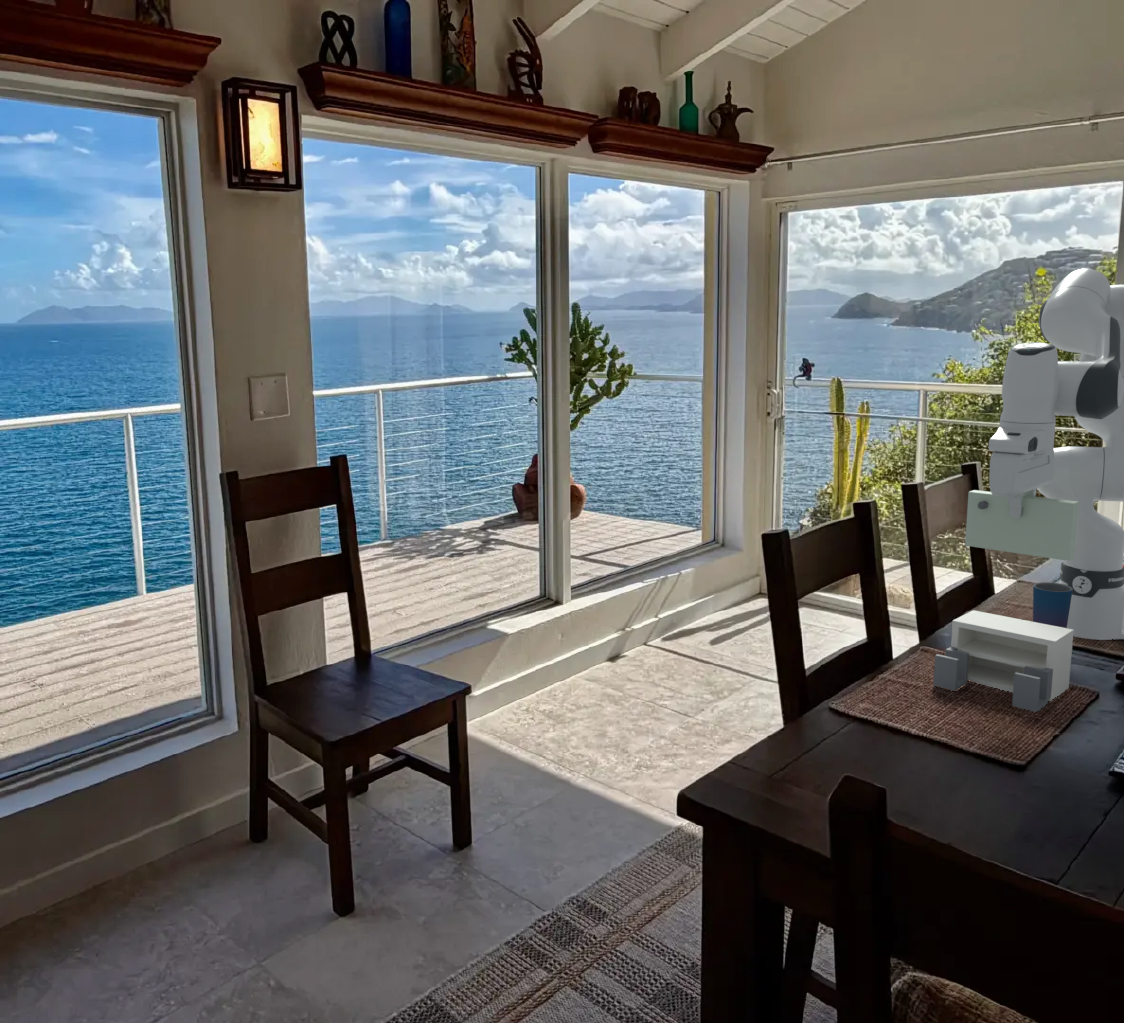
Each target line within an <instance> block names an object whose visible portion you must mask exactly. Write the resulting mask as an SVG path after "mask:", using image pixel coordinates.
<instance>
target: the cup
mask: <svg viewBox="0 0 1124 1023" xmlns="http://www.w3.org/2000/svg"><path fill="white" fill-rule="evenodd" d="M1032 589H1033V591H1032V622H1037V623H1042V624H1047V625H1052V626H1057V627H1063V628H1067V623H1068V616H1069V610H1070V604H1071V597H1072V591H1073V588H1072V587H1070V586H1068V585H1064V584H1059V582H1048V581H1047V582H1044V581H1043V582H1036V583H1034V584H1033V586H1032Z"/></svg>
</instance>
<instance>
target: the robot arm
mask: <svg viewBox="0 0 1124 1023" xmlns="http://www.w3.org/2000/svg"><path fill="white" fill-rule="evenodd" d="M1038 325H1039V326H1038V327H1039V329H1040V333H1041V336H1042V337H1043V339H1044V340H1045V341H1047V342H1048V343H1047V342H1037V341H1036V342H1034V341H1032V342H1024V343H1019V344H1015V345H1014V346H1012V347H1010V349H1009V350H1008V354H1007V357H1006V361H1005V366H1004V372H1003V376H1002V378H1003V379H1002V387H1001V389H1002V390H1001V399H1002V403H1003V404H1002V405H1003V407H1002V412H1001V415H1000V418H999V427H998V428H997V430H996V432H995V433H994V434H993V435H992V437H990V439H989V441H988V451H989V452H992V453H991V454H990V455H991V456H990V458H989V459H990V460H989V489H990V492H991V493H992V495H993V496H1000V497H1008V502H1009V506H1010V516H1011V517H1014V518H1019V517H1021V516H1023V509H1024V507H1022V498H1023V495H1024V496H1033V497H1036V495H1037V491H1038V492H1039V493H1040V494H1041V495H1043V496H1044V498H1051V499H1060V500H1069V501H1078V502H1079V505H1078V517H1077V529H1076V541H1075V553H1074V559H1072V560H1070V561H1065V560H1062V562H1061V563H1060V567H1059V579H1060V580H1059V582H1058V583H1059V584H1064V585H1068V586H1070V587H1072V588H1073V591H1072V597H1071V604H1070V610H1069V616H1068V623H1067V628H1068V629H1073V630H1074V632H1073V638H1079V639H1087V640H1088V639H1089V640H1095V641H1096V640H1097V641H1098V640H1099V641H1108V640H1109V641H1110V640H1112V639H1113V640H1124V529H1123V527H1122V526H1121V525H1120V524H1119V523H1118V522H1116V521H1115V520H1113V519H1111V518H1109V517H1107V516H1106V515H1103V514H1101V513H1100V512H1098V511H1097V510H1096V509H1095V507H1094V506H1095V505H1094V503H1095V502H1099V501H1105V502H1121V503H1123V502H1124V284H1110V281H1109V280H1108V278H1107V276H1105V275H1104V274H1103V273H1102V272H1101V271H1098V270H1096V269H1092V268H1081V269H1077V270H1073V271H1071V272H1070V273H1068V274H1067V275H1066V276H1065V277H1063V278H1062V279H1061V281H1059V283H1058V284H1057V285H1056V286H1055V288H1054V289H1053V290H1052V292H1051V294H1050V295H1049V297H1048V298H1047V299H1046V300H1045V301H1044V302H1043V303H1042V304H1041V307H1040V309H1039V314H1038ZM1057 349H1058V350H1060V351H1064V352H1067V353H1068V352H1069V353H1075V354H1080V357H1079V361H1078V360H1076V361H1075V360H1072V361H1071V360H1059V356H1058V350H1057ZM1056 416H1060V417H1061V416H1062V417H1063V416H1065V417H1066V416H1067V417H1074V419H1075V421H1076V423H1077V424H1078V425H1079V426H1080V427H1082V429H1084V430H1086V431H1088V432H1089V433H1093V434H1094V435H1096V436H1098V437H1100V438H1101V439H1102V441H1103V442H1104V444H1105V446H1102V447H1101V446H1100V447H1099V446H1098V447H1097V446H1075V445H1073V446H1068V445H1067V446H1060V447H1054V444H1055V432H1056ZM1113 640H1112V641H1113Z"/></svg>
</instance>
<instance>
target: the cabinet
mask: <svg viewBox="0 0 1124 1023" xmlns="http://www.w3.org/2000/svg"><path fill="white" fill-rule="evenodd" d="M951 628H952V629H951V644H950V647H948V648H946V649H945V651H944V652H945V653H944V654H945V655H943V654H940V653H939V654H938V653H937V654H935V655H934V666H933V667H934V668H933V669H934V671H933V686H938V687H942V688H946V689H950V690H954V691H955V690H957V689H958V688H960V687H961V686H963V685H965V684H966V683H967V684H968V682H967V680H970V681H973V682H976V683H979V684H983V685H986V686H990V687H993V688H992V689H994V688H998V689H1000V690H999V691H1002V690H1004V691H1003V692H1007V691H1009V692H1008V693H1011V692H1013V693H1012V701H1011V702H1012V703H1011V707H1012V706H1016V707H1018V708H1017V709H1019V708H1022V709H1021V710H1023V709H1026V710H1025V711H1027V710H1030V711H1029V712H1031V711H1033V712H1032V713H1035V712H1037V711H1038V712H1039V711H1041V710H1042V709H1043V708H1044V707H1046V706H1047V705H1048V701H1051V700H1052V699H1054V698H1055V697H1056V698H1058V697H1059V696H1061V695H1062V694H1064V692H1065V690H1066V689H1067V690H1068V689H1069V688H1070V678H1071V666H1072V665H1071V664H1072V653H1073V642H1074V641H1073V640H1074V636H1073V632H1074V630H1073V629H1068V628H1063V627H1057V626H1052V625H1047V624H1042V623H1037V622H1033V620H1032V621H1031V620H1026V619H1020V618H1015V617H1010V616H1005V615H1000V614H995V613H990V612H989V613H988V612H985V611H979V610H974V609H973V610H971V611H969V612H967V613H965V614H963V615H961V616H959V617H957V618H954V619H953V620H952V625H951ZM933 686H932V687H933ZM986 686H985V687H986ZM990 687H989V688H990ZM998 689H997V690H998ZM1067 690H1066V691H1067ZM1061 693H1062V694H1061ZM1057 696H1058V697H1057ZM1056 698H1055V699H1056ZM1055 699H1054V700H1055ZM1052 701H1053V700H1052ZM1052 701H1051V702H1052ZM1046 704H1047V705H1046ZM1045 705H1046V706H1045ZM1042 707H1043V708H1042ZM1041 708H1042V709H1041ZM1038 712H1037V713H1038Z"/></svg>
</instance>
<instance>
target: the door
mask: <svg viewBox="0 0 1124 1023" xmlns="http://www.w3.org/2000/svg"><path fill="white" fill-rule="evenodd" d="M967 493H968V494H967V495H968V496H967V509H966V523H965V524H966V525H965V526H966V527H965V540H964V541H965V544H964V545H965V547H973V548H981V549H986V550H994V551H1000V552H1005V553H1012V554H1013V553H1014V554H1019V555H1025V556H1026V555H1027V556H1032V557H1033V556H1034V557H1039V558H1046V559H1052V560H1053V559H1054V560H1060V561H1064V560H1065V561H1070V560H1072V559H1074V553H1075V541H1076V529H1077V517H1078V505H1079V502H1078V501H1069V500H1060V499H1051V498H1047V497H1042V496H1041V497H1040V496H1035V497H1033V496H1024V495H1023V498H1022V507H1024V509H1023V516H1021V517H1019V518H1014V517H1011V516H1010V506H1009V502H1008V497H1000V496H993V495H992V493H991V491H987V490H978V489H973V490H970V491H968V492H967Z"/></svg>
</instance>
